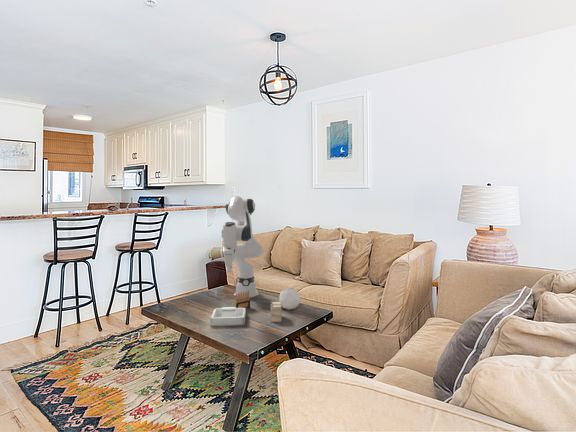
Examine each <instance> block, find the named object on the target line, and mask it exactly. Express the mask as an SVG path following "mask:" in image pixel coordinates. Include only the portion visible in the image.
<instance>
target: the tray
mask: <svg viewBox="0 0 576 432" xmlns="http://www.w3.org/2000/svg"><path fill="white" fill-rule="evenodd" d="M246 311H247V309H246V308H236V317H222V307H219V308H218V307H217V308H214V309H213V312H212V314H211V316H210V327H224V326H225V327H226V326H227V327H228V326H231V327H232V326H245V321H246V315H247V314H246V313H247V312H246Z"/></svg>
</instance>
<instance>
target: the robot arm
mask: <svg viewBox="0 0 576 432" xmlns="http://www.w3.org/2000/svg"><path fill="white" fill-rule="evenodd" d="M255 210H256V203H255V201H254V200H253V199H252V198H242V197H241V196H238V195H236V196H233V197H231V199H230V201H228V202H227V203H226V204H225V211H226V214H227V215H228V217H229V218H230V219H232V220H234V221H236V223H235V222H233V221H227V222H223V225H222V230H221V238H222V254H223V256H224V264H225V267H226V269H227V273H232V269H233V263H234V262H235V263H236V265H237V269H238V277H237V283H236V285H235V287H236V288H235V293H233V296H234V297H236V292H237V297H238V292H239V293H241V292H242V297H243V291H244V295H245V291H246V292H248V290H249V296H250V298H254V297H256V296H257V297H258V296H260V293H259V291H258V290H257V289H258V288H257V284H256V282H255V276H254V273H255V272H254V271H255V270H254V265H253V264H252V263H250V262H248V261H246V259H256V258H260V257H261V256H262V255H263V254H264V253H263V252H264V247H263V245H262V244H261V243H259V242H258V241H257V240H256V239H255V237H254V234H253V228H252V227H253V226H252V219H251V216H252V214H253V213H254V212H255ZM239 241H240V242H245V243H238V242H239Z"/></svg>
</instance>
